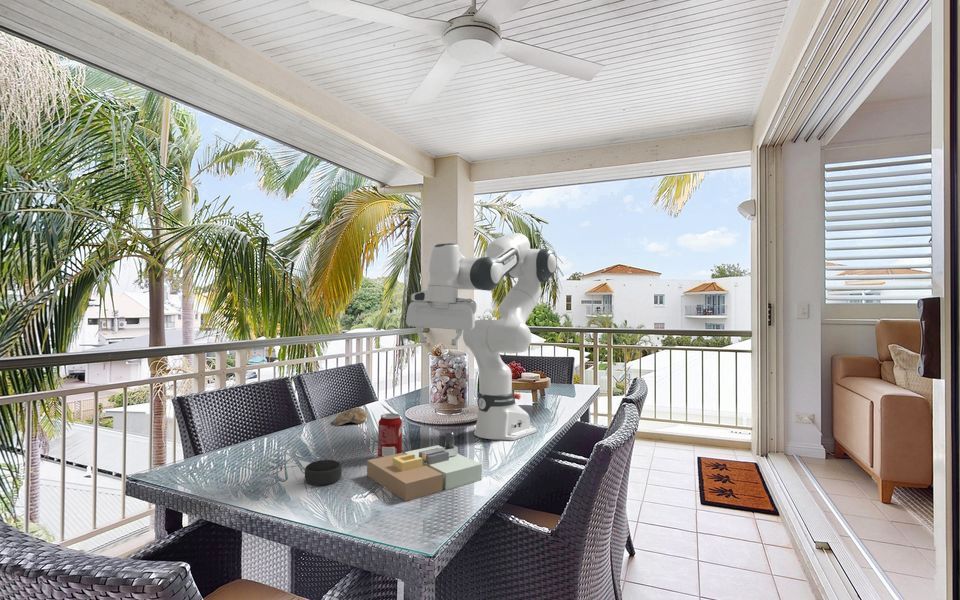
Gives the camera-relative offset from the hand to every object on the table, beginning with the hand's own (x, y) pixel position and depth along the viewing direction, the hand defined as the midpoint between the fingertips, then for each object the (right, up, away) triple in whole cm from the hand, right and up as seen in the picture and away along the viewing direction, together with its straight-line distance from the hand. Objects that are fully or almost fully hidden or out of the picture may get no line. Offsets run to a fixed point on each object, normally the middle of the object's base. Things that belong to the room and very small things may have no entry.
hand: (438, 344), depth 142 cm
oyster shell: (-36, -33, +38) cm, 62 cm away
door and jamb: (-3, -33, -18) cm, 37 cm away
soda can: (-14, -33, -1) cm, 36 cm away
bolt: (+2, -28, -14) cm, 32 cm away
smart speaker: (-28, -33, -19) cm, 47 cm away
